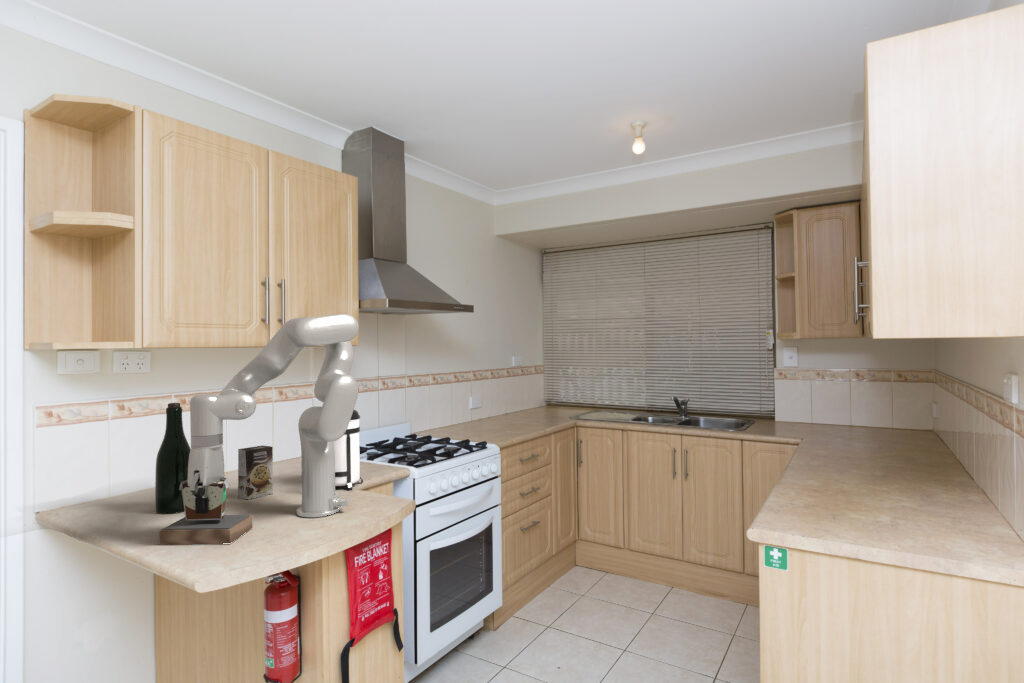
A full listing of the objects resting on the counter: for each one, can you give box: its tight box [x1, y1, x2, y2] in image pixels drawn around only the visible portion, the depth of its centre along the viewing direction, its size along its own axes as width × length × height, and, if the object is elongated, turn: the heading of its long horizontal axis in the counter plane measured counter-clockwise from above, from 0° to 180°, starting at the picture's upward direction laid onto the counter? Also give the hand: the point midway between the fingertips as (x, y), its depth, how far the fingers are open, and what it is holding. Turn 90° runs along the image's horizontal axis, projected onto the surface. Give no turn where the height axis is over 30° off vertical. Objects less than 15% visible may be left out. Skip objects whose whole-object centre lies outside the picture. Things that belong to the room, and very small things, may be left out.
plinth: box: [158, 514, 253, 546], centre depth 148 cm, size 18×12×4 cm, turn 89°
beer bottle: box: [154, 402, 191, 514], centre depth 173 cm, size 10×10×33 cm
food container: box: [179, 476, 230, 520], centre depth 149 cm, size 12×6×10 cm, turn 89°
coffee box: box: [237, 445, 274, 500], centre depth 188 cm, size 9×6×16 cm
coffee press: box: [333, 409, 364, 491], centre depth 197 cm, size 17×16×30 cm
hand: (208, 508), depth 148 cm, fingers closed on food container, 5 cm apart
